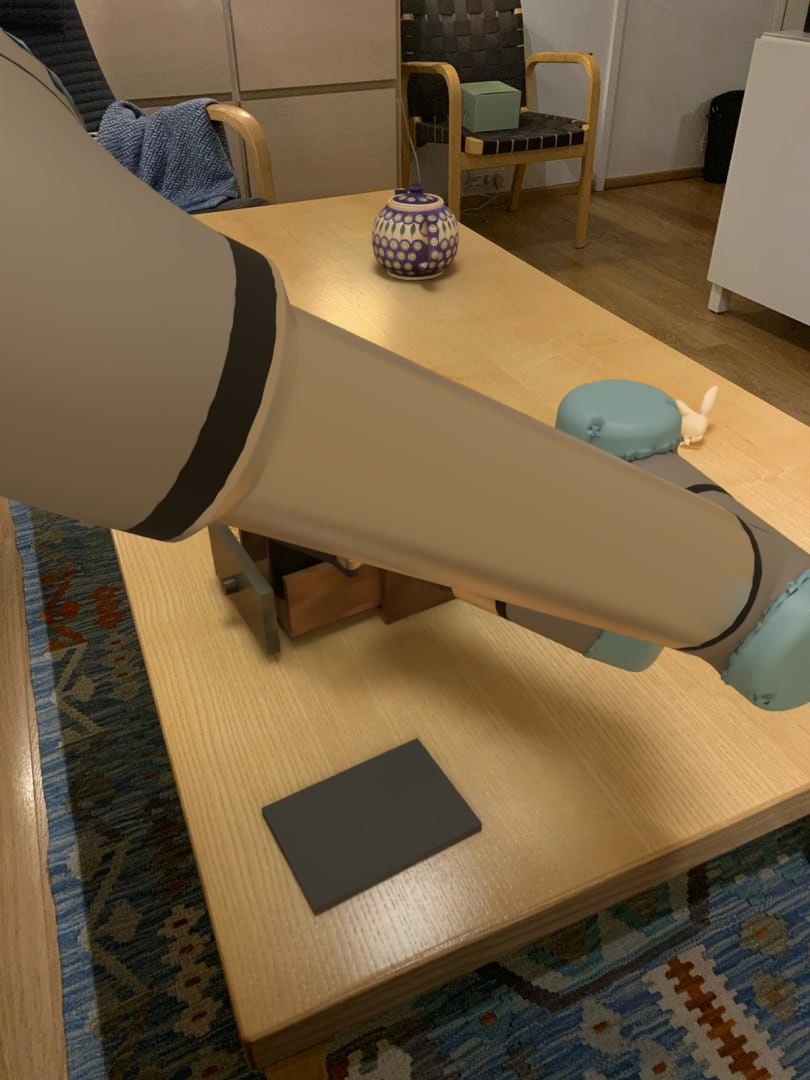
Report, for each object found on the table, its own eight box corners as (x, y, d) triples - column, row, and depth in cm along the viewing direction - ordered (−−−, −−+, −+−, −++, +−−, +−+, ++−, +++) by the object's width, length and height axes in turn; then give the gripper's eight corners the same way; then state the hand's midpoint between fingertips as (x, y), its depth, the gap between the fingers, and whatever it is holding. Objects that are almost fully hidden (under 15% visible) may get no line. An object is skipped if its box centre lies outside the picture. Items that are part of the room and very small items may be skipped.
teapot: (473, 293, 146) (477, 201, 137) (385, 299, 143) (383, 206, 135) (441, 246, 165) (442, 163, 157) (362, 250, 163) (360, 167, 154)
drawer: (255, 661, 74) (246, 599, 70) (203, 578, 83) (192, 518, 79) (406, 604, 80) (405, 544, 76) (342, 532, 89) (338, 475, 85)
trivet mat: (315, 916, 57) (314, 909, 56) (262, 814, 63) (260, 807, 63) (481, 830, 62) (482, 823, 61) (417, 744, 68) (417, 737, 68)
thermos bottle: (285, 608, 78) (267, 454, 69) (261, 574, 82) (241, 424, 72) (341, 588, 80) (332, 436, 71) (315, 556, 84) (303, 408, 75)
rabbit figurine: (658, 444, 105) (667, 391, 109) (675, 461, 108) (683, 408, 111) (704, 433, 101) (712, 378, 105) (720, 451, 103) (728, 397, 107)
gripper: (399, 657, 62) (173, 545, 73) (527, 531, 74) (316, 451, 85) (399, 575, 58) (157, 469, 68) (534, 455, 70) (311, 381, 81)
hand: (246, 459), depth 77 cm, fingers closed on thermos bottle, 6 cm apart
